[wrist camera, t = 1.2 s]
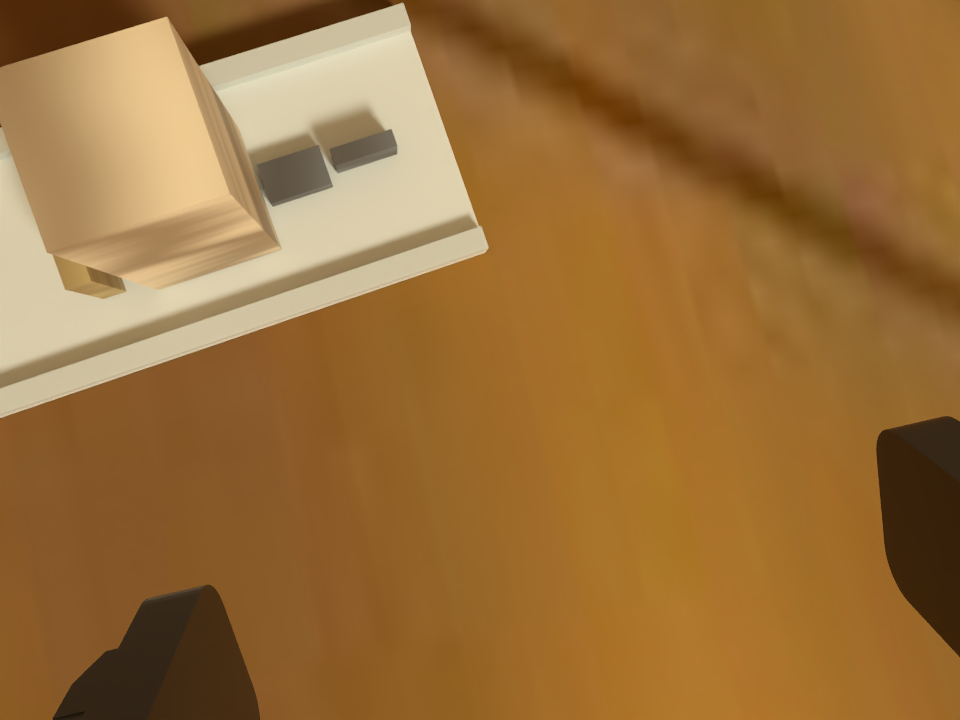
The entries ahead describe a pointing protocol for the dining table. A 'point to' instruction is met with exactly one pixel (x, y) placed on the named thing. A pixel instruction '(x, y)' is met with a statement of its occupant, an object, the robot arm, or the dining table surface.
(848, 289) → the dining table surface
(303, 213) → the tie down bed
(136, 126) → the tall tan block
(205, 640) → the robot arm
